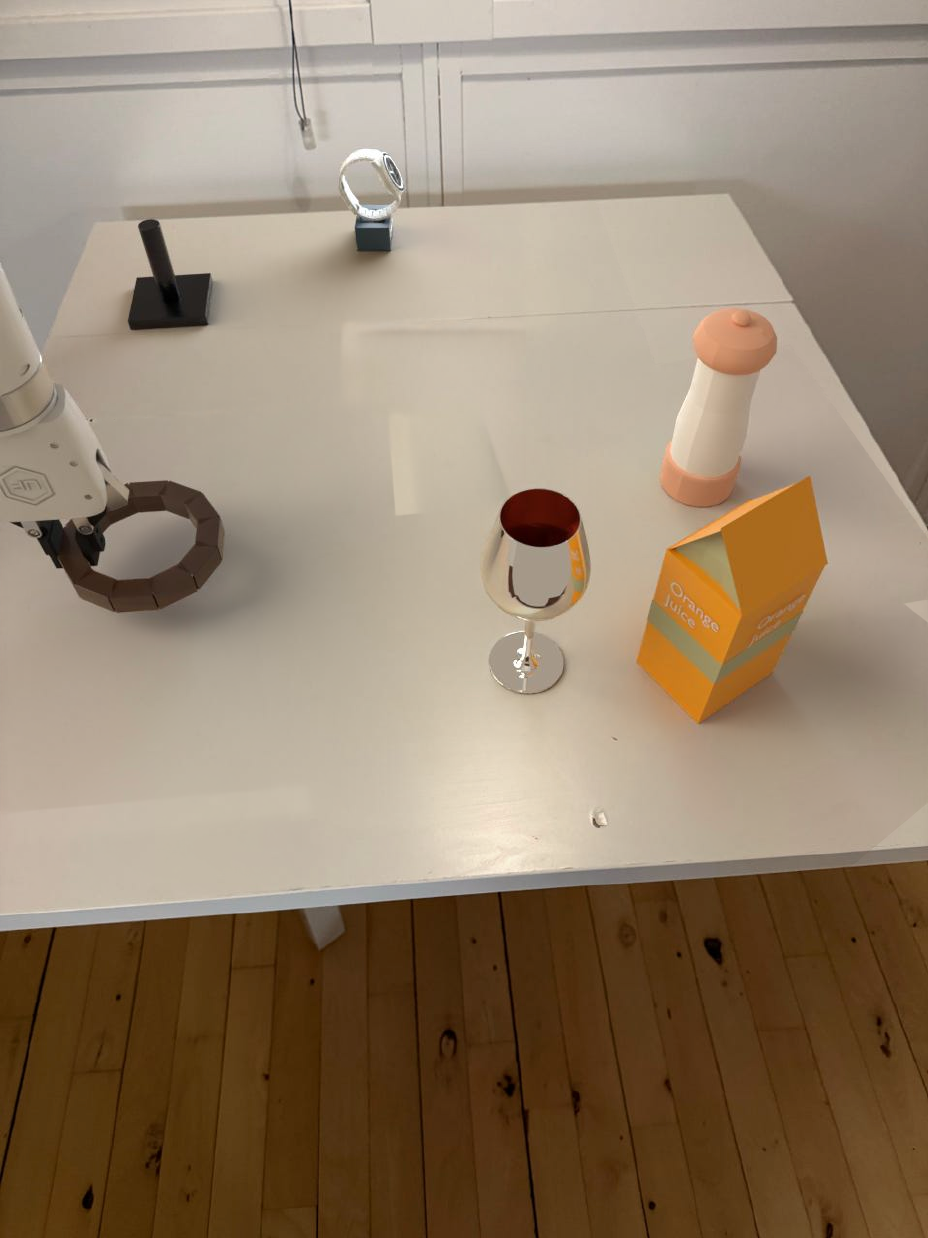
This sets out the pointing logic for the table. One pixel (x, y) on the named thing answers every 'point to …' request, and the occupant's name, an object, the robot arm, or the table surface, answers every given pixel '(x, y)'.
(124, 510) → the ring
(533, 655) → the wineglass
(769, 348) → the pepper shaker
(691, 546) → the orange juice
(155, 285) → the post
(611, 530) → the table surface
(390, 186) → the watch
